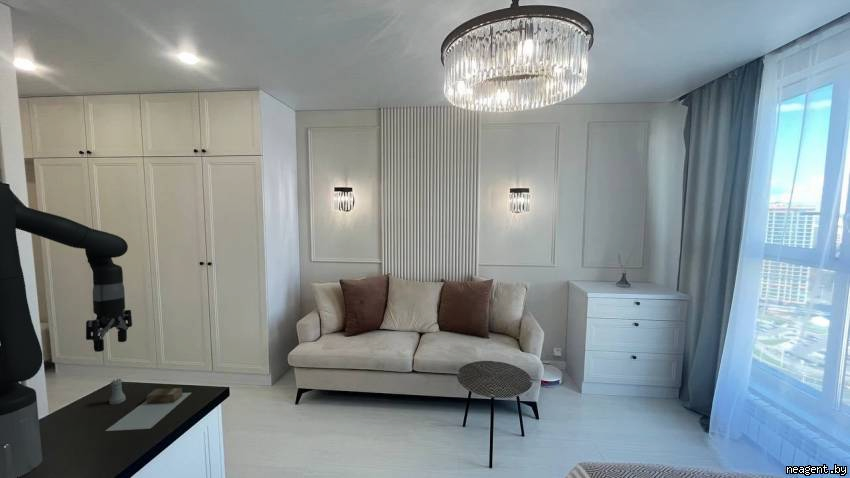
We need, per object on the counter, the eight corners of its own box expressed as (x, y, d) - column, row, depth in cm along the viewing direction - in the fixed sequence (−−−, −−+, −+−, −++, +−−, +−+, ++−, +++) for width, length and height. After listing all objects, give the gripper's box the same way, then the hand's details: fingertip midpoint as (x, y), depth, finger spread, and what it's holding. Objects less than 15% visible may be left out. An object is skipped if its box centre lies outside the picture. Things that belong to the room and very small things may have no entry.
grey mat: (150, 429, 103) (150, 428, 103) (105, 432, 102) (105, 430, 102) (191, 393, 124) (191, 392, 124) (154, 395, 123) (154, 394, 123)
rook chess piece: (113, 399, 120) (112, 378, 119) (128, 397, 121) (127, 376, 121) (106, 406, 116) (104, 384, 115) (122, 404, 117) (120, 382, 116)
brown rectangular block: (146, 404, 116) (146, 395, 116) (156, 397, 121) (155, 388, 121) (174, 402, 117) (173, 394, 117) (182, 395, 121) (181, 387, 121)
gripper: (115, 293, 115) (117, 339, 116) (75, 302, 101) (77, 355, 101) (138, 292, 115) (140, 338, 116) (101, 301, 101) (103, 354, 102)
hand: (111, 346), depth 109 cm, fingers open, 8 cm apart
